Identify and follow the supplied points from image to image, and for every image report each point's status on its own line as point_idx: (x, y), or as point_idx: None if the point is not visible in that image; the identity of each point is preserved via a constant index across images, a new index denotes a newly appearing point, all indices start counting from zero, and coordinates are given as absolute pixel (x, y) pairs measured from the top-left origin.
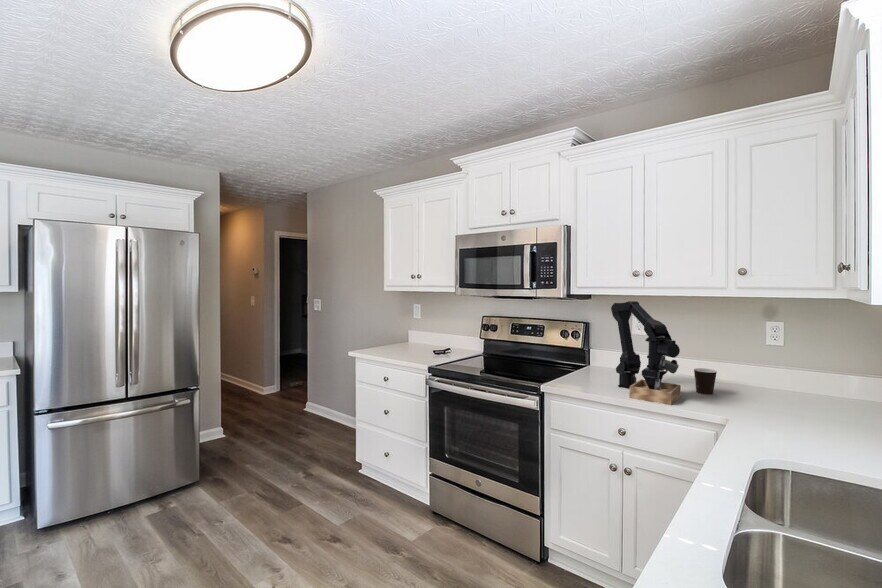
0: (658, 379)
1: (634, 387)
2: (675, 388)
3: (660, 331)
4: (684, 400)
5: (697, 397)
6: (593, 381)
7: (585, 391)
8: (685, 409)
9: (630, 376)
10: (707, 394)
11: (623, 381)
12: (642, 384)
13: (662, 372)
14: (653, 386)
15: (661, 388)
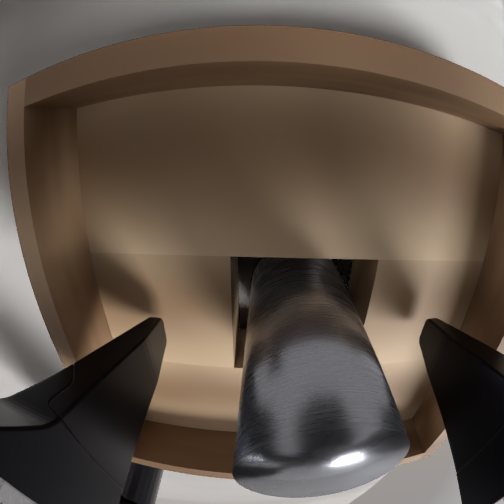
0: (380, 436)
1: (445, 434)
2: (319, 40)
3: None
4: (224, 17)
5: (54, 9)
6: (176, 495)
7: (354, 488)
8: (498, 30)
9: (133, 490)
10: None
11: (161, 477)
12: (143, 425)
13: (15, 477)
14: (488, 353)
15: (103, 292)
